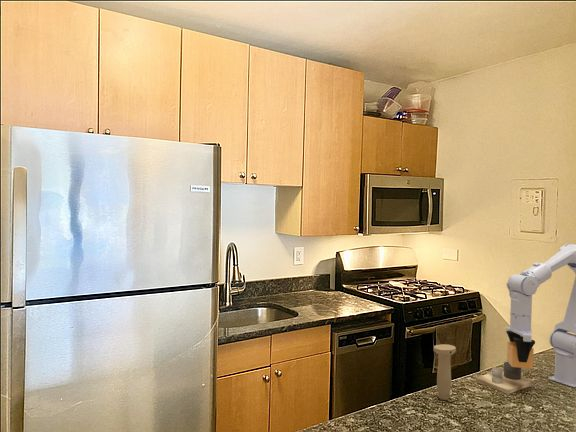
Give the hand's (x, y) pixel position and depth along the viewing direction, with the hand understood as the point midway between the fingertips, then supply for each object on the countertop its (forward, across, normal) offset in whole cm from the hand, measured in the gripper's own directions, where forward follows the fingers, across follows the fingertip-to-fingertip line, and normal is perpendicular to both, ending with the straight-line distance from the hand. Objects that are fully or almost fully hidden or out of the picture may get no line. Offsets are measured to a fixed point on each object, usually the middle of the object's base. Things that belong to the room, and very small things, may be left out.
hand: (519, 358), depth 137 cm
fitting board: (+10, -4, -3) cm, 11 cm away
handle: (+10, +12, -23) cm, 28 cm away
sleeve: (+2, 0, 0) cm, 2 cm away
